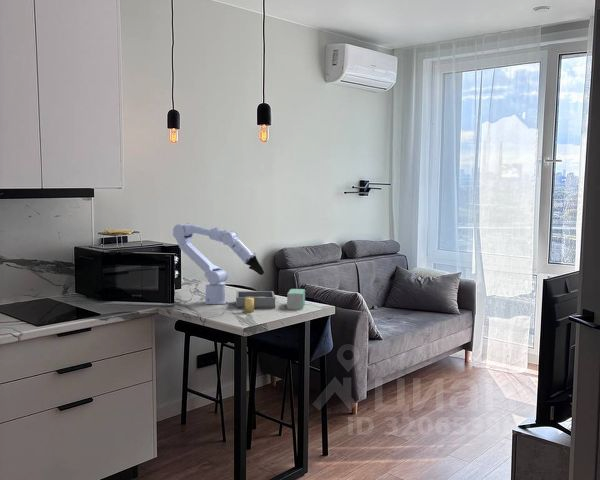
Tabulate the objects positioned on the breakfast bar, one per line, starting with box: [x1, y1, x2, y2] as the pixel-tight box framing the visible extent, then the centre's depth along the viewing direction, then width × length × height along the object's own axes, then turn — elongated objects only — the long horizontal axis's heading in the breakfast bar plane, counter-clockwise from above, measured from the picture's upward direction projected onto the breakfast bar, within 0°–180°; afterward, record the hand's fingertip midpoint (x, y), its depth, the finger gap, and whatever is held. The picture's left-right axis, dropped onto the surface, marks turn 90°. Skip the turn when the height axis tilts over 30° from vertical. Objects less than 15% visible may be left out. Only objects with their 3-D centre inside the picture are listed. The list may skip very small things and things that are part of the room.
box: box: [286, 288, 306, 310], centre depth 286 cm, size 7×14×8 cm, turn 175°
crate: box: [235, 290, 276, 309], centre depth 288 cm, size 18×16×5 cm
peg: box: [244, 298, 255, 314], centre depth 272 cm, size 4×4×6 cm
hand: (262, 272), depth 281 cm, fingers open, 7 cm apart
